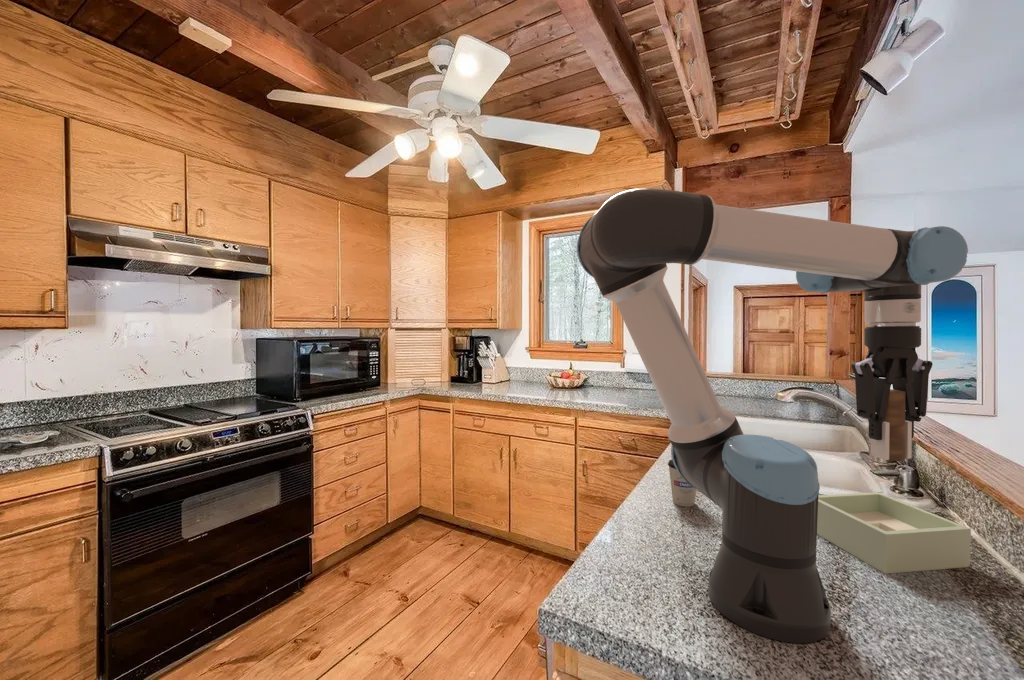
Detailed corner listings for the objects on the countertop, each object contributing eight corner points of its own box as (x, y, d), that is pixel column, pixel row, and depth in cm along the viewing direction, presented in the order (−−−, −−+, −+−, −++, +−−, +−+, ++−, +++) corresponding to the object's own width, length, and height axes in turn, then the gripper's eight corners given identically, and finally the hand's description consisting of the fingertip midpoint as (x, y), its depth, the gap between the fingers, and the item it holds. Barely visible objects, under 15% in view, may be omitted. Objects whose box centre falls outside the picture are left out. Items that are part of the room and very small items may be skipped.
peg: (891, 461, 75) (892, 392, 74) (872, 455, 78) (872, 389, 78) (910, 460, 75) (911, 391, 75) (890, 454, 79) (891, 388, 78)
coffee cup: (667, 494, 103) (667, 453, 103) (698, 498, 101) (699, 456, 101) (667, 506, 97) (667, 462, 96) (701, 510, 94) (701, 465, 94)
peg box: (884, 573, 70) (886, 534, 70) (806, 528, 86) (807, 496, 86) (969, 566, 72) (970, 528, 72) (877, 523, 88) (878, 492, 88)
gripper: (867, 325, 71) (867, 466, 72) (958, 323, 73) (956, 461, 74) (830, 325, 79) (830, 453, 80) (913, 323, 80) (912, 448, 81)
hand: (890, 456), depth 77 cm, fingers closed on peg, 3 cm apart
